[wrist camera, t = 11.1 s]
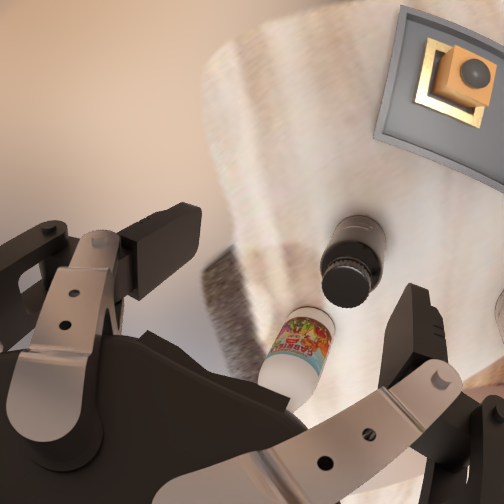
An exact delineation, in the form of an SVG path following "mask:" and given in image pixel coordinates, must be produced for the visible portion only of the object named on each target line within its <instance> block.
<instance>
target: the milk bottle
mask: <svg viewBox="0 0 504 504" xmlns="http://www.w3.org/2000/svg"><path fill="white" fill-rule="evenodd" d="M334 334H335V328H334V325H333V322H332V320H331V319H330V318H329V316H328V315H326V314H325V313H324V312H322V311H321V310H318V309H315V308H309V307H306V308H300V309H297V310H295V311H294V312H292V313H291V314H290V315H289V317H288V318H287V320H286V322H285V324H284V325H283V327H282V329H281V331H280V333H279V335H278V336H277V338H276V340H275V342H274V344H273V346H272V348H271V349H270V351H269V353H268V355H267V357H266V359H265V361H264V363H263V365H262V367H261V370H260V373H259V378H258V385H260V386H263V387H265V388H267V389H270V390H272V391H275V392H277V393H279V394H282V395H284V396H287V397H289V398H291V399H290V401H289V403H288V406H287V408H286V409H287V410H288V411H290V412H291V413H292V414H293V413H294V412H295V411H296V410H297V409H298V408H299V407H301V406H302V405H303V404H304V403H305V402H306V401H307V400H308V399H309V398H310V397H311V396H312V394H313V392H314V391H315V389H316V387H317V384H318V382H319V380H320V377H321V374H322V371H323V369H324V366H325V363H326V360H327V357H328V354H329V351H330V348H331V344H332V341H333V338H334Z"/></svg>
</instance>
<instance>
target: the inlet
mask: <svg viewBox="0 0 504 504" xmlns="http://www.w3.org/2000/svg"><path fill="white" fill-rule="evenodd" d="M451 48H452V47H451V46H449V45H446V44H444V43H441V42H439V41H436V40H433V39H431V38H427V40H426V42H425V44H424V47H423V53H422V58H421V64H420V69H419V74H418V79H417V83H416V88H415V92H414V97H413V101H412V103H414V104H417V105H420V106H422V107H425V108H427V109H430V110H433V111H435V112H438V113H440V114H442V115H445V116H447V117H450V118H452V119H454V120H456V121H459V122H461V123H463V124H465V125H468V126H470V127H473V128H478V129H480V125H481V121H482V117H483V112H484V108H485V107H467V111H466V112H464V111H462V110H459V109H457V108H455V107H452V106H450V105H448V104H445V103H443V102H441V101H438V100H436V99H433V98H430V97H428V96H427V91H428V87H429V82H430V77H431V72H432V67H433V62H434V56H435V57H438V58H440V59H441V58H442V57H443V56H444V55H445V54H446V53H447V52H448V51H449V50H450V49H451Z"/></svg>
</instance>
